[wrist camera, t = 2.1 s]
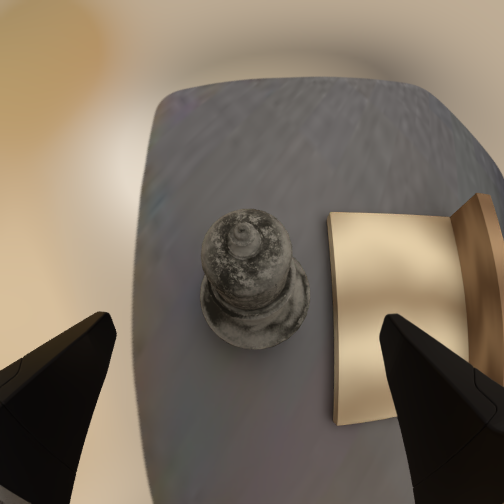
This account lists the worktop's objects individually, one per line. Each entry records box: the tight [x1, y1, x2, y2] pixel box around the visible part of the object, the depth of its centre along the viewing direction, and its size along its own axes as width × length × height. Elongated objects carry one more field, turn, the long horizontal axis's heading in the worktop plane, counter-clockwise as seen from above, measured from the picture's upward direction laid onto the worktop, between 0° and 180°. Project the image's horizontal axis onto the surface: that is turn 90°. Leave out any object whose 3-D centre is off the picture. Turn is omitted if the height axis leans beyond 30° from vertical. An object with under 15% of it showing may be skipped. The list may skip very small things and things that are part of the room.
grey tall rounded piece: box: [200, 209, 310, 349], centre depth 13 cm, size 6×6×12 cm
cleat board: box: [327, 193, 504, 426], centre depth 15 cm, size 14×12×5 cm
